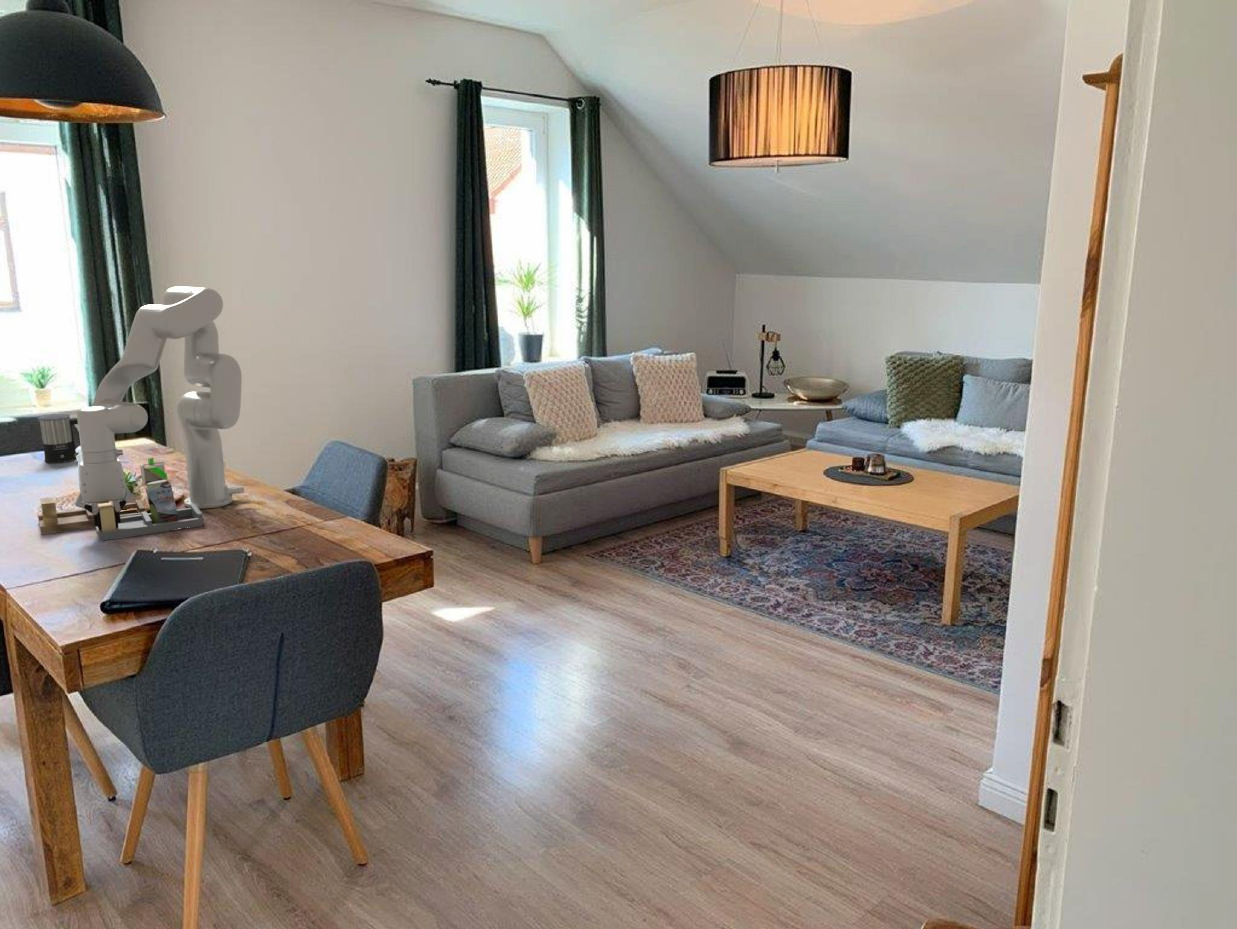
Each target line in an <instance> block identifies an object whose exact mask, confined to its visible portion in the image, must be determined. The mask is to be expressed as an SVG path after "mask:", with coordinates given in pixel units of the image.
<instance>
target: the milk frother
mask: <svg viewBox="0 0 1237 929" xmlns="http://www.w3.org/2000/svg"><path fill="white" fill-rule="evenodd" d="M70 417H71V414H68V413H54V414H46V415H42V416H39V417H37V420H38V421H39V424H40V425H39V426H40V431H41V438H42V439H41V440H42V444H43V445H42V446H43V452H44V463H48V464H49V463H50V464H54V463H55V464H57V463H58V464H59V463H67V462H71V461H74V460H76V459H77V456H76V454H77V452H76V451H77V449H78V447H79V444H80V443H79V442H75V438H74V436H75V435H74V431H73V425H78V420H77V417H73V418H72V417H71V418H70Z"/></svg>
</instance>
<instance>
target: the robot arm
mask: <svg viewBox="0 0 1237 929" xmlns="http://www.w3.org/2000/svg"><path fill="white" fill-rule="evenodd" d="M223 309H224V300H223V298H222V296H221V295H220V292H218V291H217V290H214V289H213V288H210V287H203V286H201V287H198V286H185V285H184V286H183V285H181V286H172V287H170V288H167V290H166V291H165V292H164V294H163V304H156V303H155V304H154V303H153V304H146V305H143V306H141V307H139V309H138V310H137V311H136V312H135V315H134V319H133V322H132V324H131V327H130V331H129V334H128V337H127V340H126V343H125V346H124V350H123V352H122V353H123V354H122V356H121V358H120V359H119V361H118V362H116V363H115V365H114V366H113V367H112V368H111V369H110V370H109V371H108V372H107V374H106V375H104V377H103V379H102V380H101V382H100V383H99V385H98V388H97V390H96V392H95V396H94V399H93V402H92V406H85V407H81V408H80V409H79V410H78V411H77V414H76V418H77V420H78V424H77V428H78V433H79V434H78V436H79V441H80V442H79V444H80V448H81V449H80V450H81V460H82V461H81V462H79V465H78V483H79V484H78V485H79V494H78V495H77V498H76V500H75V502H74V506H75V507H77V508H80V509H86V510H88V511H89V512H91V513H92V514H93V516H94V524H95V526H98V529H99V530H101V529H102V525H101V517H100V513H99V511H98V504H99V503H107V502H112V505H114V516H115V524H116V528H117V527H118V523H121V520H120V515H121V513H120V511H121V509H122V508H123V507H124V506H125V504H127V503H131V501H133V500H135V495H134V494H133V493H132V492H131V491H130V490H129V488H128V487H127V483H126V477H125V472H124V468H123V464H122V462H121V459H120V458H118V457H120V456H124V451H123V449H118V448H116V441H115V440H116V438H115V435H117V434H128V433H135V432H138V431H141V430H142V429H143V428H144V427H145V426H146V425H147V423H148V418H149V416H148V412H147V410H146V409H145V408H144V407H143V406H142V405H139V404H137V403H134V402H128V401H123V400H124V397H125V395H126V393H127V391H128V390H129V388H130V387H131V386H132V385H133V384H135V383H136V382H137V381H139V380H140V379H143V378H144V377H147V376H149V375H151V374H153V373H154V372H156V370H157V369H158V368H159V365H160V361H161V358H162V355H163V352H164V349H165V346H166V343H167V339H172V340H178V339H183V338H184V351H183V352H184V353H183V356H184V357H183V359H184V360H183V375H184V378H185V381H186V382H188V383H189V384H191V385H193V386H196V387H201V388H209V391H210V392H209V391H208V392H207V391H198V390H194V391H189V392H185V393H184V394H183V395H182V396H181V397H180V398H179V399H178V402H177V404H176V414H177V418H178V422H179V423H180V426H181V427H180V428H181V431H182V436H183V437H182V438H183V444H184V452H185V453H184V454H185V455H184V456H185V464H186V472H187V473H186V474H187V482H188V492H189V496H188V497H187V498H185V499H184V500H183V504H184V506H185V508H191V505H196V506H197V507H198V508H199V510H200V509H202V510H203V509H205V510H206V509H213V508H220V507H224V506H226V505H229V504H231V503H233V500H234V499H233V498H234V497H233V495H234V494H235V495H238V494H244V493H245V487H244V486H237V485H236V486H234V485H233V486H229V485H227V484H226V475H225V463H224V453H223V444H222V443H223V440H222V437H221V434H220V431H219V430H228V429H231V428H233V427H234V426H235V425H236V424H237V422H238V420H239V418H240V415H241V414H240V413H241V403H242V401H241V400H242V377H243V376H242V370H241V367H240V364H239V363H238V361H237V359H236V358H234V357H233V356H231V355H229V354H226V353H220V351H219V350H220V349H219V348H220V347H219V332H218V328H217V326H216V324H215V322H214V321H215V320H216V319H218V317H219V316H220V315H221V313H222V311H223Z"/></svg>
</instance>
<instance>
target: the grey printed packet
mask: <svg viewBox="0 0 1237 929" xmlns="http://www.w3.org/2000/svg"><path fill="white" fill-rule="evenodd" d="M172 487H173V486H172V484H171V483H170V482H169V480H168V479H167V480H162V479H159V480H153V481H149V482H146V487H145V493H146V497H147V501H148V507H149V510H150V513H151V515H152V520H153V521H152V524H158V523H165V522H172V521H179V519H180V518H178V513H177V510H178V509H177V505H176V500H175V495H174V491H173V488H172Z"/></svg>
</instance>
